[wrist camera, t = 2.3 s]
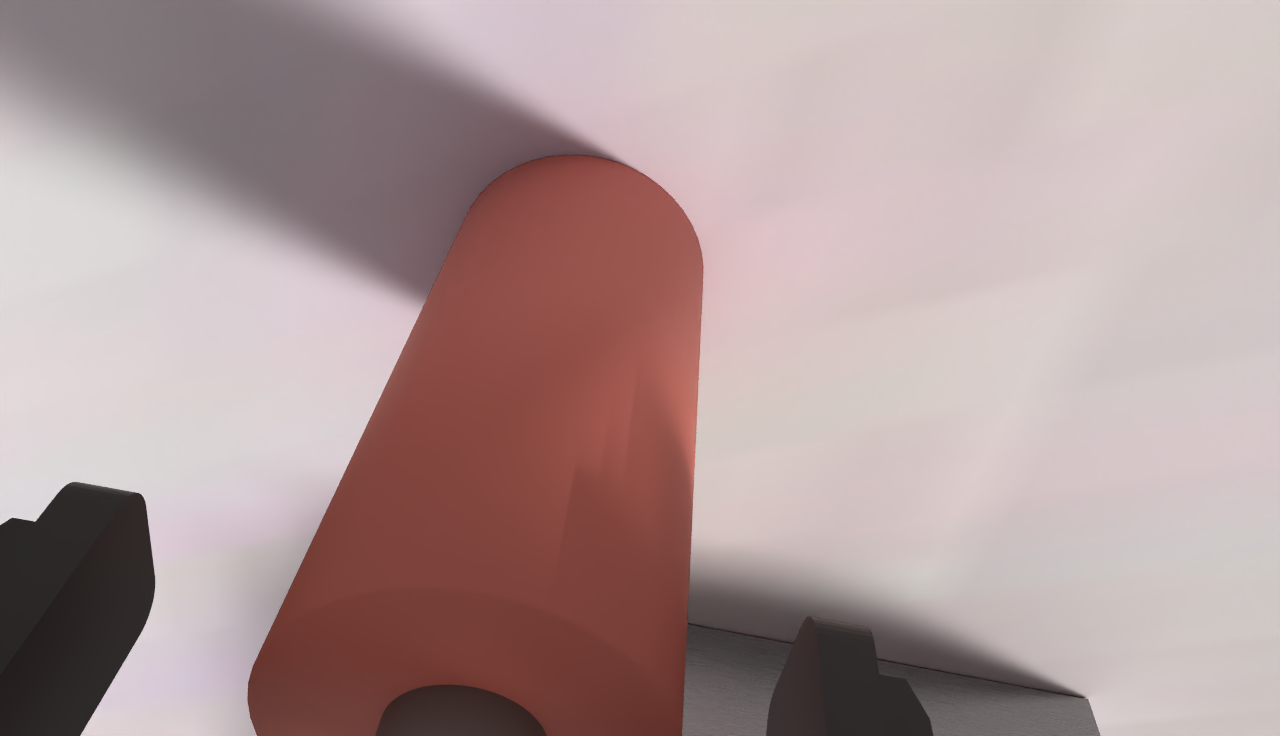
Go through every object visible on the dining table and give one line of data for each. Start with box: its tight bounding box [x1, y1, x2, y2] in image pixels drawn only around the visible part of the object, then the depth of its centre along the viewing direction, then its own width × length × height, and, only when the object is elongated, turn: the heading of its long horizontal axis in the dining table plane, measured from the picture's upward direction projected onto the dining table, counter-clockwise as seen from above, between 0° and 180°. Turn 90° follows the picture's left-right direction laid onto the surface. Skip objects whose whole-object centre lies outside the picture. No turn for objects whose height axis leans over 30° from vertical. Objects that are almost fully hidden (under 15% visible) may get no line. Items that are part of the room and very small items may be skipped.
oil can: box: [248, 155, 703, 736], centre depth 14 cm, size 5×5×12 cm
